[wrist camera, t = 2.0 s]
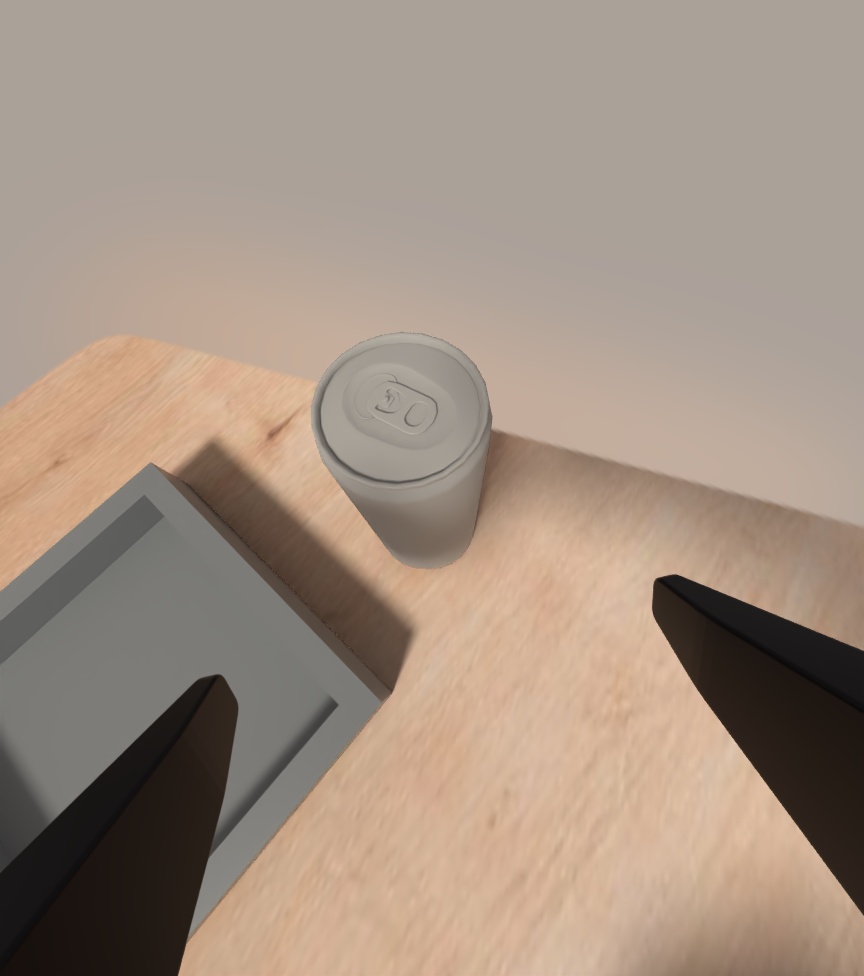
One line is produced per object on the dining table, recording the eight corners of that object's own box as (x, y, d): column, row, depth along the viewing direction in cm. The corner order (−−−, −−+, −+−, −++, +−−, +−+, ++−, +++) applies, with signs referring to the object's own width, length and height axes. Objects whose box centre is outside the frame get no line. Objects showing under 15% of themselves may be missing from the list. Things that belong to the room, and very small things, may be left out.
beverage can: (412, 469, 23) (371, 303, 12) (490, 509, 22) (528, 370, 10) (365, 543, 21) (266, 438, 10) (445, 590, 20) (433, 530, 9)
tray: (392, 692, 19) (381, 702, 16) (100, 1048, 15) (20, 1140, 12) (187, 483, 23) (150, 462, 20) (-80, 723, 20) (-170, 737, 17)
